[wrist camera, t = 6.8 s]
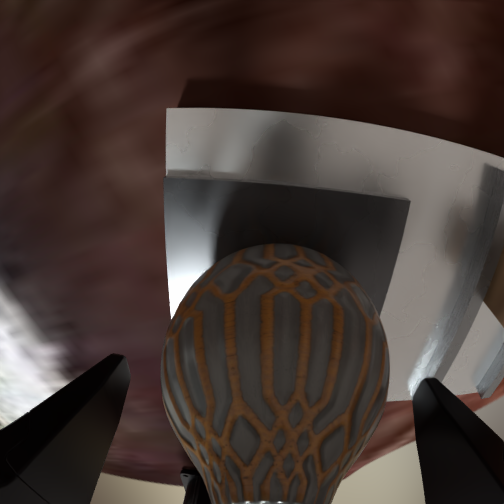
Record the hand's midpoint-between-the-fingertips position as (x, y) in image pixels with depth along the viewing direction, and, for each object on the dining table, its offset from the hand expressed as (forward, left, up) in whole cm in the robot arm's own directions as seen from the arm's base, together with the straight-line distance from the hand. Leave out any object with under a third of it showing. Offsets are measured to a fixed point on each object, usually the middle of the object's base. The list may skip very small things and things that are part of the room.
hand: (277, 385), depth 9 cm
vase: (0, 0, -5) cm, 5 cm away
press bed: (0, -5, -6) cm, 8 cm away
